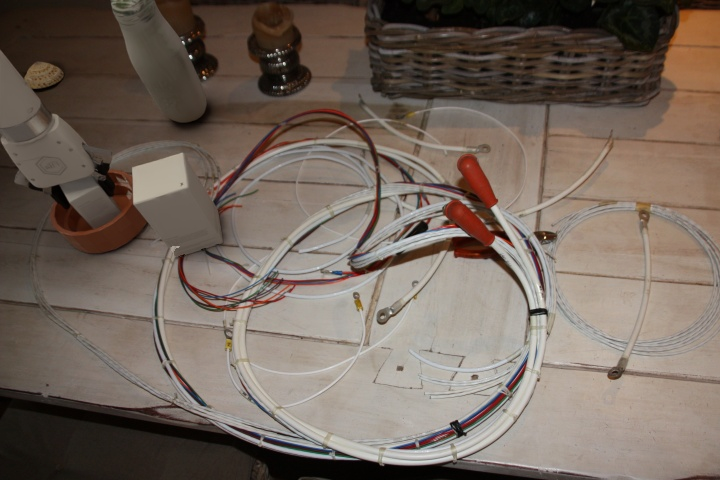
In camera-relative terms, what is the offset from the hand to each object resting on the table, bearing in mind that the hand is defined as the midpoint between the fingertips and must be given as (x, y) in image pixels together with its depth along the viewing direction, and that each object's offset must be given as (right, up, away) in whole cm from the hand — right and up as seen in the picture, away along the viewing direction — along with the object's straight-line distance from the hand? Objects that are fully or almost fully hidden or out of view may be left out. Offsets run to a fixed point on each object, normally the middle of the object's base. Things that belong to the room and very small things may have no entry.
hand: (89, 197), depth 97 cm
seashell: (-30, +32, +34) cm, 56 cm away
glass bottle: (+10, +20, +21) cm, 31 cm away
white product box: (+19, -6, +2) cm, 20 cm away
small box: (+1, -4, +5) cm, 7 cm away
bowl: (+1, -4, +6) cm, 7 cm away
